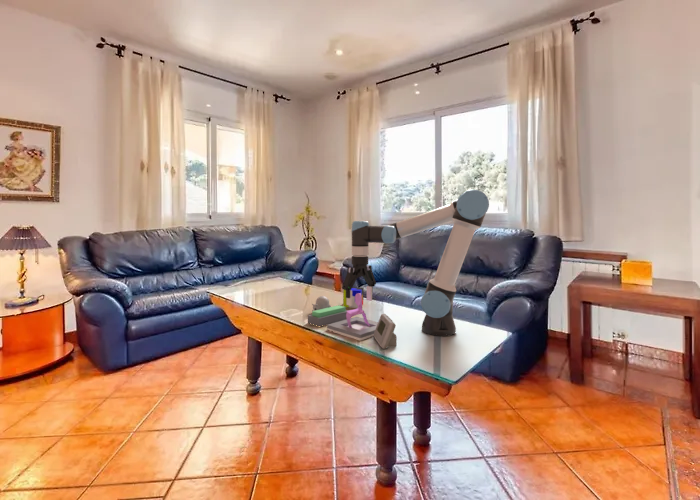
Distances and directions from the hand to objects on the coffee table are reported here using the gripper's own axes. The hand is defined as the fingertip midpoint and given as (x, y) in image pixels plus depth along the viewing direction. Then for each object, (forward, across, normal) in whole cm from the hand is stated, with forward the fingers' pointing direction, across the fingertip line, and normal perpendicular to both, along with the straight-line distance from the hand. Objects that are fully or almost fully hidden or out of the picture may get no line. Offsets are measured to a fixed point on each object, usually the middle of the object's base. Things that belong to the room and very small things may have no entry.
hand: (359, 302), depth 168 cm
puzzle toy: (+13, -34, -34) cm, 50 cm away
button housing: (+12, -1, -20) cm, 24 cm away
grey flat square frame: (+13, 0, 0) cm, 13 cm away
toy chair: (+11, 0, -1) cm, 11 cm away
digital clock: (+13, +5, +18) cm, 23 cm away
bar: (+9, -1, -20) cm, 23 cm away
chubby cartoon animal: (+13, -9, -36) cm, 39 cm away
